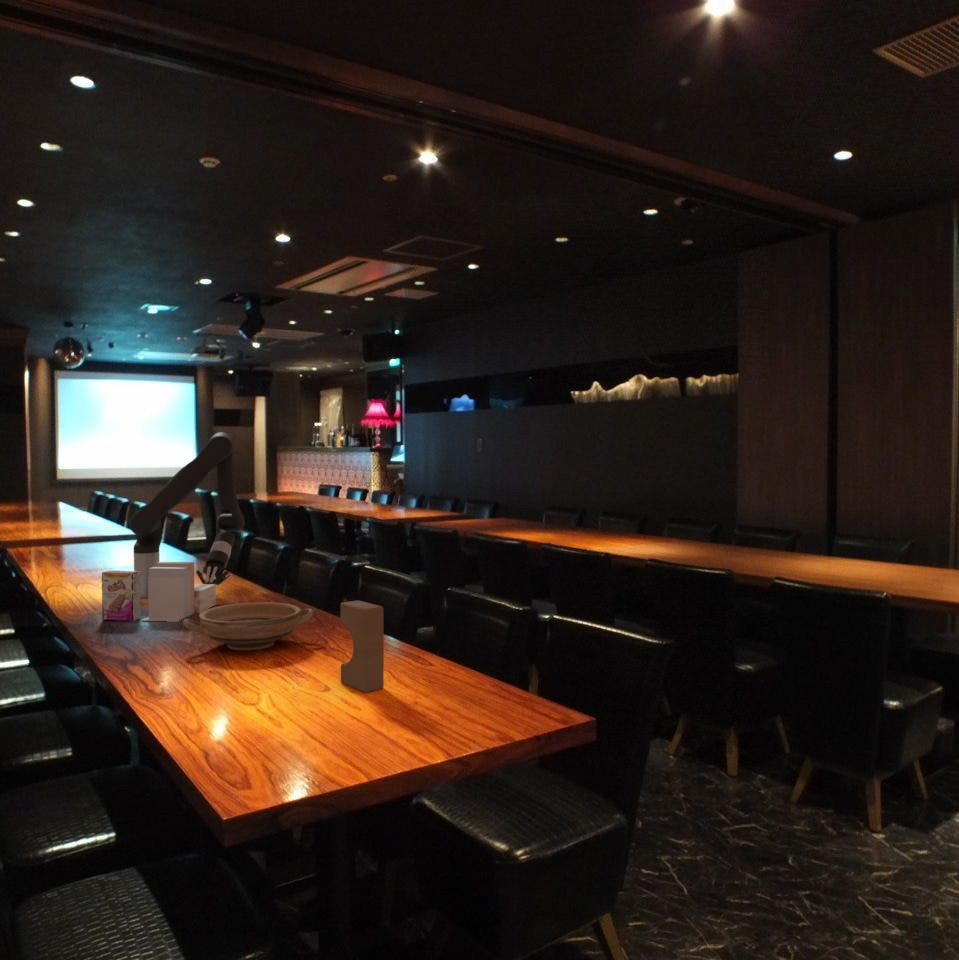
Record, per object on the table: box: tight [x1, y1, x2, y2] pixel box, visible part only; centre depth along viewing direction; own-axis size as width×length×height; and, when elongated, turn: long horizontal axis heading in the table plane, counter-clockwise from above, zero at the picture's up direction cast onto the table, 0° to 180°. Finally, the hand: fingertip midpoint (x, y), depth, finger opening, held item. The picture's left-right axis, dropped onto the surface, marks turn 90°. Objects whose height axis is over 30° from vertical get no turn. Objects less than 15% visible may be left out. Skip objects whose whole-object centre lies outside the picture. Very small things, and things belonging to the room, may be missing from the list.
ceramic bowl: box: [182, 601, 314, 652], centre depth 231 cm, size 37×29×10 cm
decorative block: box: [339, 600, 385, 694], centre depth 191 cm, size 11×6×20 cm, turn 42°
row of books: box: [141, 561, 196, 623], centre depth 268 cm, size 12×14×18 cm
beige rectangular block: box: [194, 583, 217, 614], centre depth 282 cm, size 7×14×8 cm, turn 176°
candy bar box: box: [101, 569, 141, 622], centre depth 264 cm, size 11×5×16 cm, turn 84°
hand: (206, 592), depth 290 cm, fingers closed
